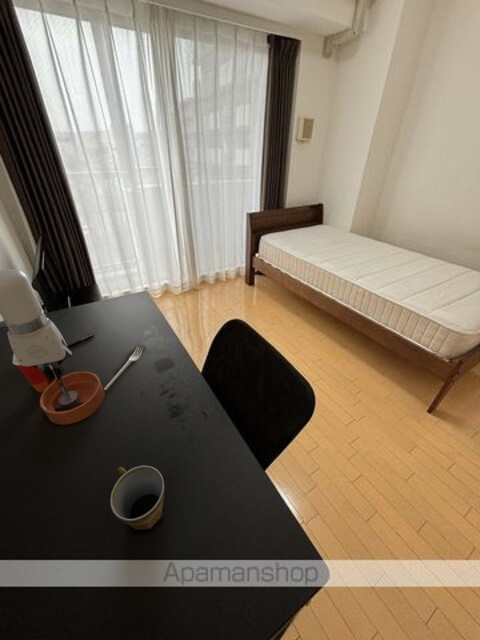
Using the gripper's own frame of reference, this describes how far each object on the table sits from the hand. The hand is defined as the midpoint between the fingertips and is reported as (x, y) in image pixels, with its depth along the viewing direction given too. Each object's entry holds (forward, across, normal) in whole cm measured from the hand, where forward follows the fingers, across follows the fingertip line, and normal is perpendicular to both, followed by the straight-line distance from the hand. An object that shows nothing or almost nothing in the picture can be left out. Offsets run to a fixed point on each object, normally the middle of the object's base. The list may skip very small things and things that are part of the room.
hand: (56, 376), depth 77 cm
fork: (+12, +15, +10) cm, 22 cm away
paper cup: (+12, -9, +10) cm, 18 cm away
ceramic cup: (+12, +20, -35) cm, 42 cm away
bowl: (+12, +2, -1) cm, 12 cm away
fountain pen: (+12, -3, +29) cm, 32 cm away
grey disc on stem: (+11, 0, 0) cm, 11 cm away
